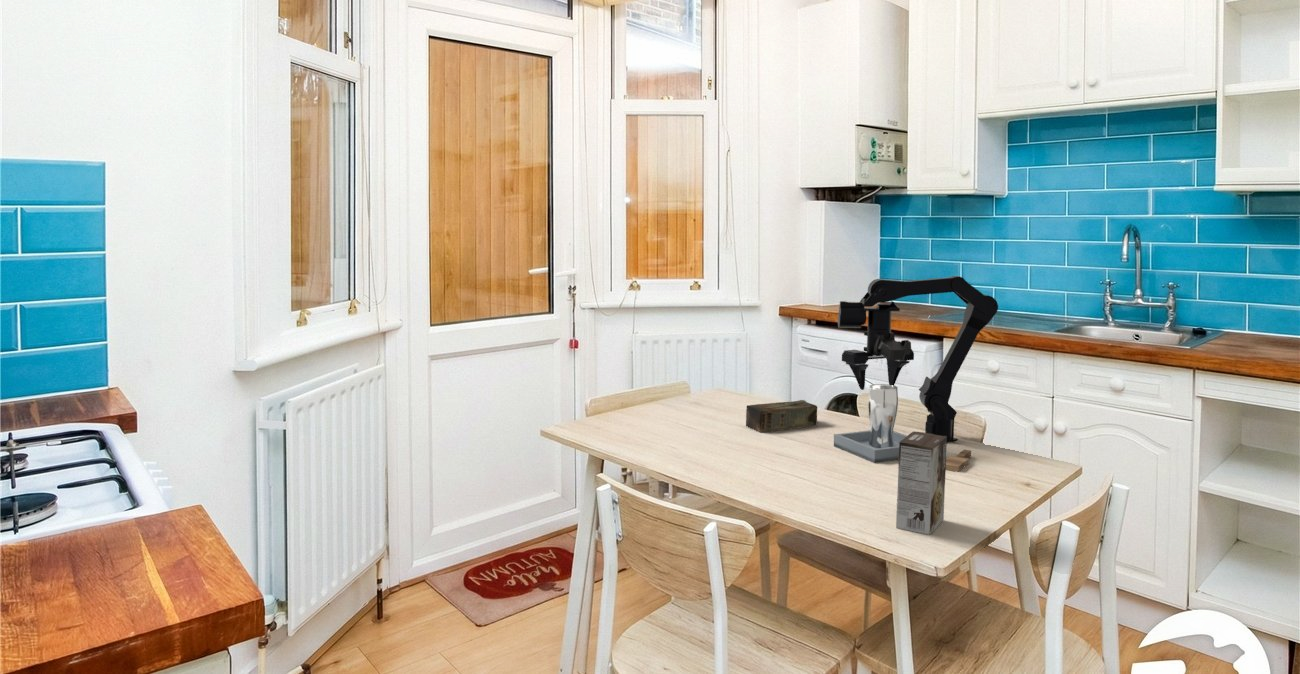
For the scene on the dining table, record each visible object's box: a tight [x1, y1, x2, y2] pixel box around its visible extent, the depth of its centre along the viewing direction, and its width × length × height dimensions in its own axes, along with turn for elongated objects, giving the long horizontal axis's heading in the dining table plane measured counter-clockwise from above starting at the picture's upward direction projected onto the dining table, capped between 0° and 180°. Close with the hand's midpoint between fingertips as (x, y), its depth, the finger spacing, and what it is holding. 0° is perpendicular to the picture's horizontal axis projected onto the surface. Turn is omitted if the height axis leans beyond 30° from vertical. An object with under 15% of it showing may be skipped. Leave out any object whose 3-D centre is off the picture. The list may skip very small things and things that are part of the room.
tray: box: [833, 429, 908, 464], centre depth 193 cm, size 16×16×3 cm
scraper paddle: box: [946, 448, 972, 473], centre depth 183 cm, size 14×4×2 cm, turn 142°
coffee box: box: [895, 431, 948, 536], centre depth 144 cm, size 9×6×16 cm
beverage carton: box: [745, 399, 818, 433], centre depth 218 cm, size 8×19×7 cm, turn 115°
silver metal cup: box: [867, 383, 899, 449], centre depth 193 cm, size 7×7×15 cm
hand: (876, 388), depth 204 cm, fingers open, 9 cm apart
